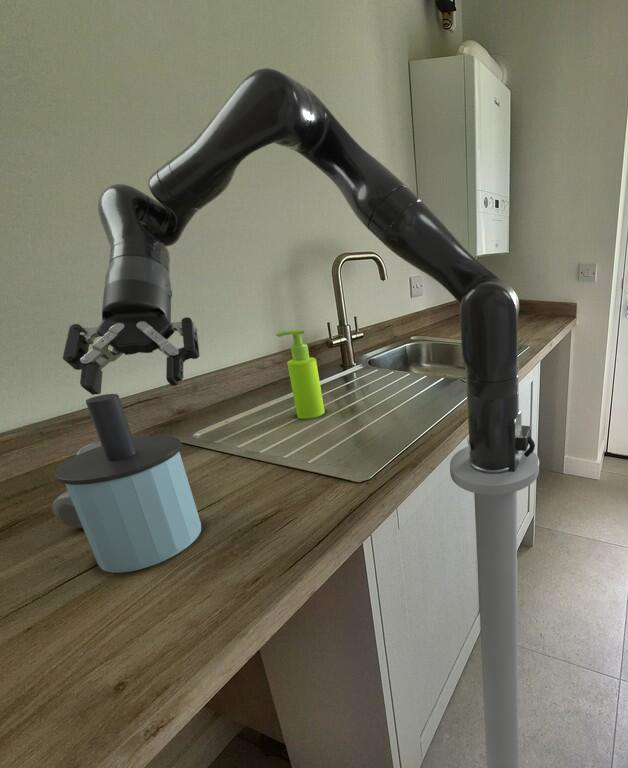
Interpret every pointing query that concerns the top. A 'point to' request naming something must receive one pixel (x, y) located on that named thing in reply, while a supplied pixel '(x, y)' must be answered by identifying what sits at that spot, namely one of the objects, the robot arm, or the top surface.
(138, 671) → the top surface
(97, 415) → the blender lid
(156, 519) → the light blue cup
